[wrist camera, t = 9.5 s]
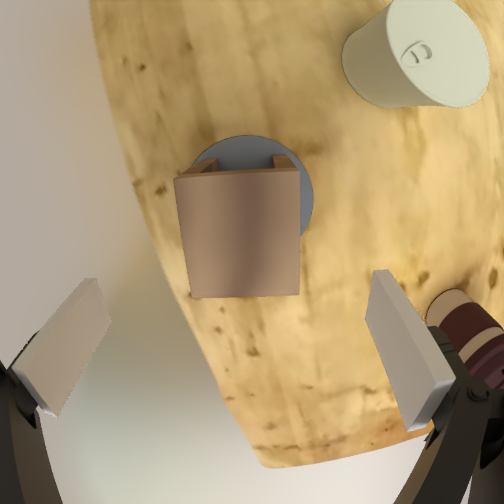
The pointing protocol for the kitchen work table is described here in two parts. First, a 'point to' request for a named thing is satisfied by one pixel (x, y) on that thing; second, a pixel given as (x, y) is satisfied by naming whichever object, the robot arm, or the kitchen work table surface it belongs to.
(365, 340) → the kitchen work table surface
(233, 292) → the wooden stool
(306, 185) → the rubber mat
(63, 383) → the robot arm
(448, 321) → the coffee cup
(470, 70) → the can
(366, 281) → the kitchen work table surface
